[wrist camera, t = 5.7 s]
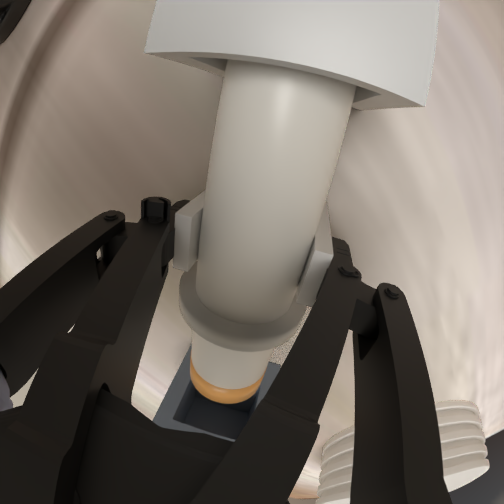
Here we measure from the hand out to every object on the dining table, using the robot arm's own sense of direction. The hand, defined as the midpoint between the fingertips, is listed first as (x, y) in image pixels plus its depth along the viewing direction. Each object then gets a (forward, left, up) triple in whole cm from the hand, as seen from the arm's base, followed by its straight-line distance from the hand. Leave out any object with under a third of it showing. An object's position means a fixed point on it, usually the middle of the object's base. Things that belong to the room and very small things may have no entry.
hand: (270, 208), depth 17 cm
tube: (0, +5, +1) cm, 5 cm away
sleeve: (0, +15, -1) cm, 15 cm away
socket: (0, -20, -1) cm, 20 cm away
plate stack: (+31, -32, -2) cm, 44 cm away
